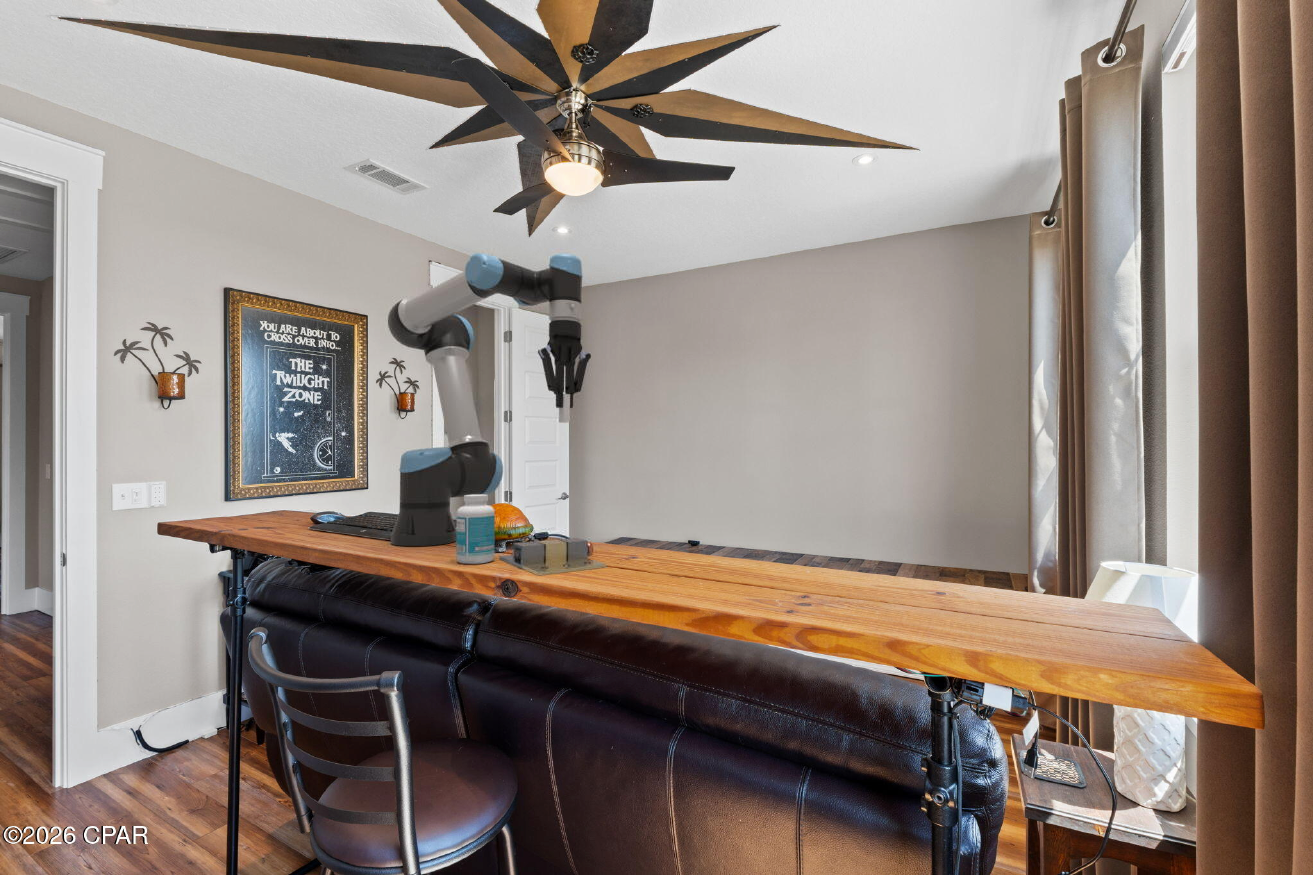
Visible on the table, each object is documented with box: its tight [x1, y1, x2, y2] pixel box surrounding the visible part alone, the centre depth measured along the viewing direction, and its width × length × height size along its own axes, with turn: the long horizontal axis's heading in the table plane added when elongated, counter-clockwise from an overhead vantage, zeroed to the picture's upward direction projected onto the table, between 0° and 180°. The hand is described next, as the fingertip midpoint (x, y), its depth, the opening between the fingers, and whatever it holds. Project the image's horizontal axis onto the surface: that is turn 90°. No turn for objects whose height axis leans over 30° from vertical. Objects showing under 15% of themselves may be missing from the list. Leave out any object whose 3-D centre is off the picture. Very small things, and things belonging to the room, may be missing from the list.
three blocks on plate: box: [498, 537, 607, 576], centre depth 116 cm, size 20×14×4 cm
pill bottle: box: [455, 494, 496, 565], centre depth 118 cm, size 8×7×14 cm
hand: (564, 422), depth 135 cm, fingers closed
